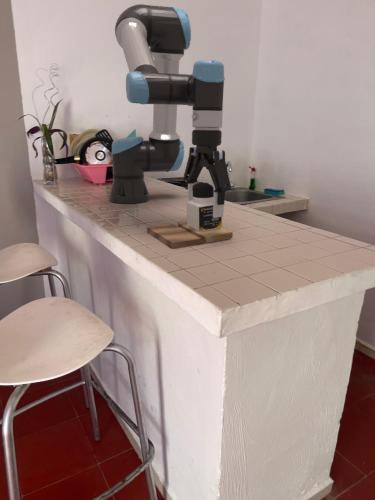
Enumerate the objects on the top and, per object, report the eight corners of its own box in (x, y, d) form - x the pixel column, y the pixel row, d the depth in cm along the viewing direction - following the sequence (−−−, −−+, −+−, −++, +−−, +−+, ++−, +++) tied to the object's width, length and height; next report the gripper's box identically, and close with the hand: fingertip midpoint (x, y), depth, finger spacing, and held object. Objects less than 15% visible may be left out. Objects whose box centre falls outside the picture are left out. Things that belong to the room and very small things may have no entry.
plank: (177, 227, 108) (177, 222, 107) (201, 223, 111) (201, 218, 111) (206, 243, 95) (206, 237, 94) (232, 237, 98) (232, 232, 98)
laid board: (147, 232, 104) (147, 226, 103) (176, 228, 108) (176, 223, 107) (172, 248, 90) (172, 242, 90) (204, 243, 94) (204, 238, 94)
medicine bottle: (199, 232, 98) (198, 187, 94) (186, 225, 104) (185, 183, 100) (222, 228, 101) (222, 184, 97) (208, 222, 107) (208, 180, 103)
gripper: (171, 127, 103) (171, 203, 110) (221, 130, 82) (217, 223, 89) (195, 128, 106) (194, 201, 113) (249, 130, 85) (243, 220, 92)
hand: (204, 211), depth 101 cm, fingers open, 13 cm apart
